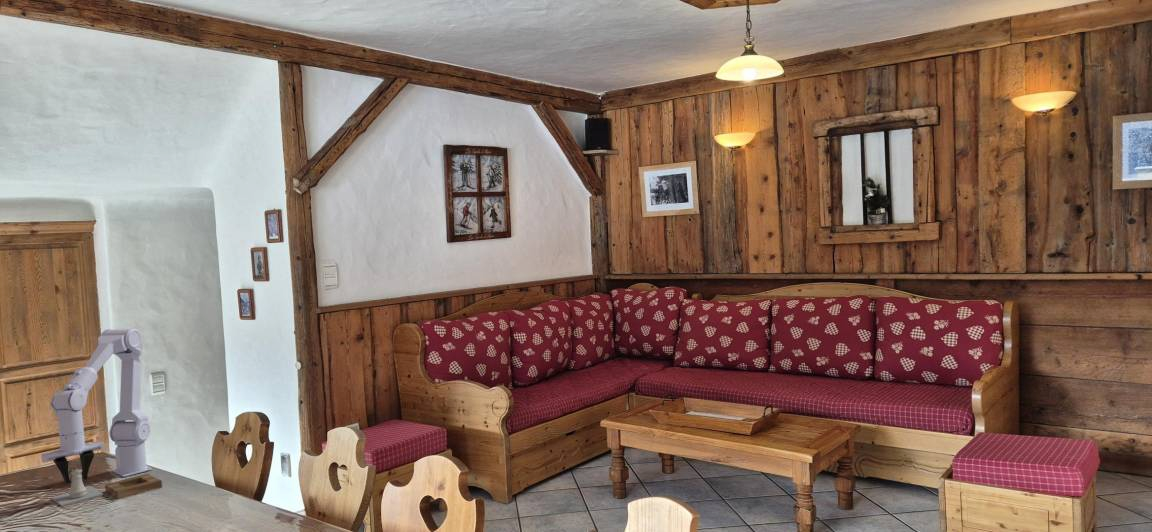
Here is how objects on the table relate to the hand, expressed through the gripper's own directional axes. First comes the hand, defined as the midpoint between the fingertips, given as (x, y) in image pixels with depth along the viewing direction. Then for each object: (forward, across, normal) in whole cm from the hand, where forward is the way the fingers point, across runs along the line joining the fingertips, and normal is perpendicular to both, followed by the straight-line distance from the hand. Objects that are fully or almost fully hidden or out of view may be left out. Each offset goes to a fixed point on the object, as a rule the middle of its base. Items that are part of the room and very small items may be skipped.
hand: (76, 481), depth 210 cm
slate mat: (+5, 0, 0) cm, 5 cm away
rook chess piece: (+4, 0, -1) cm, 4 cm away
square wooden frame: (+5, +12, -7) cm, 15 cm away
